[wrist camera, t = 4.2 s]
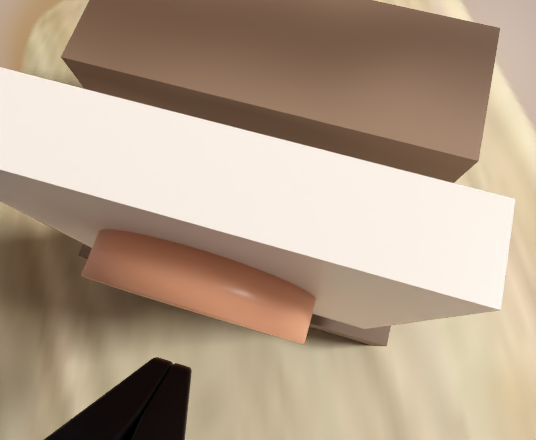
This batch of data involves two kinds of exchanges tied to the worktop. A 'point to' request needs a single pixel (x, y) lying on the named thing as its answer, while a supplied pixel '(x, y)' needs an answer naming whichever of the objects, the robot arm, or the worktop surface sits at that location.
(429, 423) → the worktop surface
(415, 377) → the worktop surface
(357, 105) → the brown wooden stand
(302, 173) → the button plate
